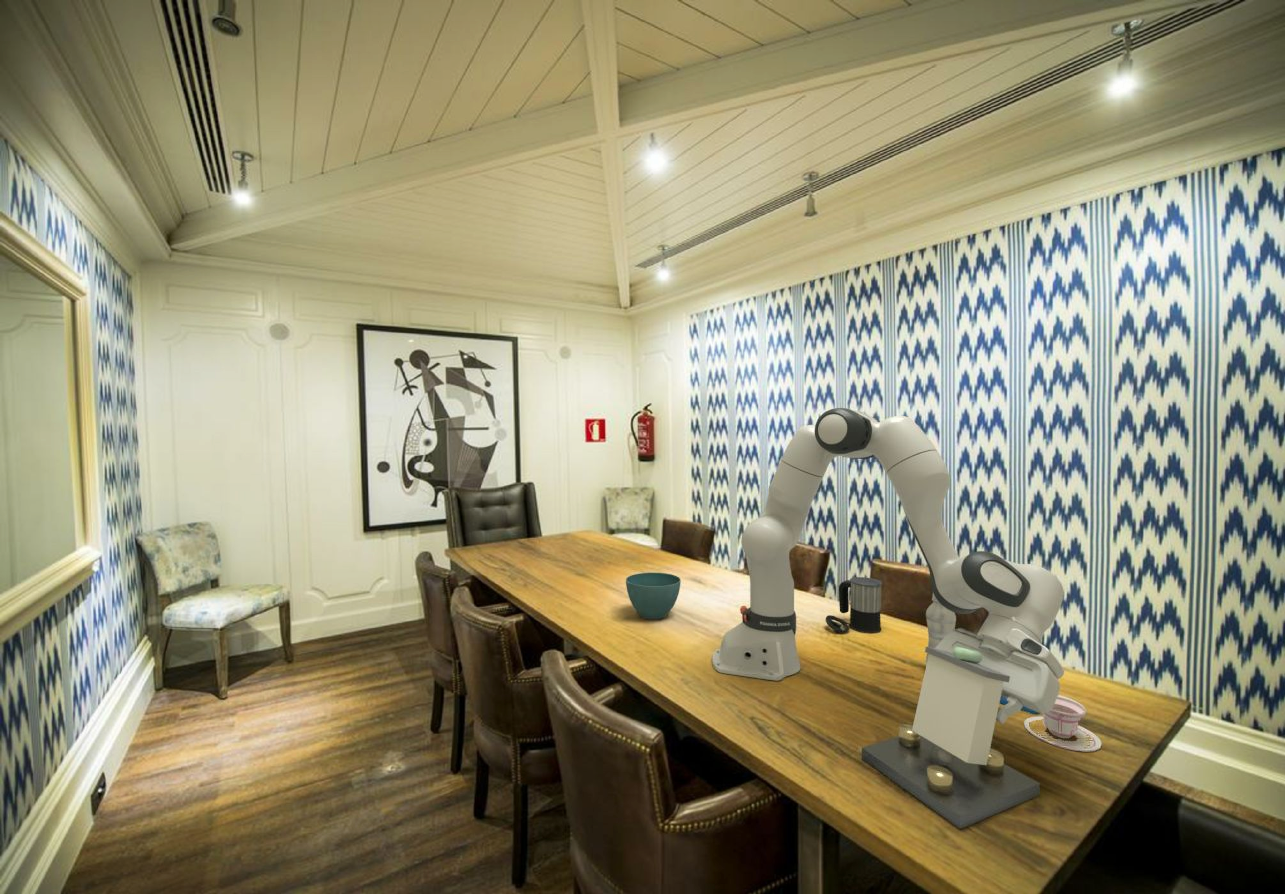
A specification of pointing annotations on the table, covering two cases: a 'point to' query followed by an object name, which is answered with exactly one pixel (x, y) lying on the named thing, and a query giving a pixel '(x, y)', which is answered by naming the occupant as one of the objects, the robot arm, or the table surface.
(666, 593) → the plant pot
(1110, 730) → the table surface
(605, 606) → the table surface
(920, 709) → the instrument head
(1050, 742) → the teacup
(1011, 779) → the base
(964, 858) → the table surface
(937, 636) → the plastic bottle
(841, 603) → the milk frother
